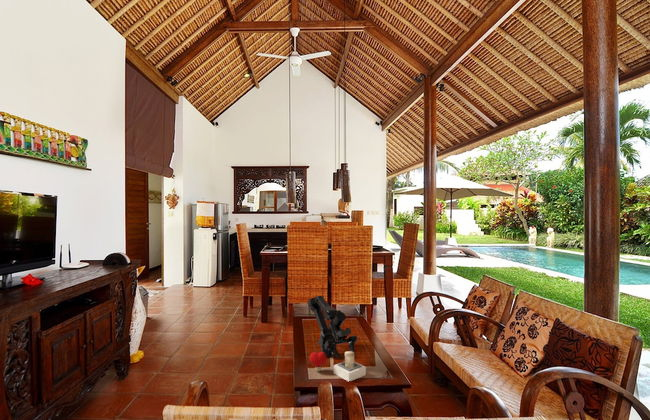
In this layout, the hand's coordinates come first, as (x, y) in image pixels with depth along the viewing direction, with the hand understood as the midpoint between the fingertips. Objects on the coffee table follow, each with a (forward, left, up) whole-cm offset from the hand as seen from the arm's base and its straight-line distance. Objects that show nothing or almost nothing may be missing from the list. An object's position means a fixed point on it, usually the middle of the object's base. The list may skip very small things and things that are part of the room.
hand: (346, 357), depth 180 cm
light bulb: (-10, -12, -8) cm, 17 cm away
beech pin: (+3, -1, -8) cm, 8 cm away
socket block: (+3, -1, -8) cm, 8 cm away
